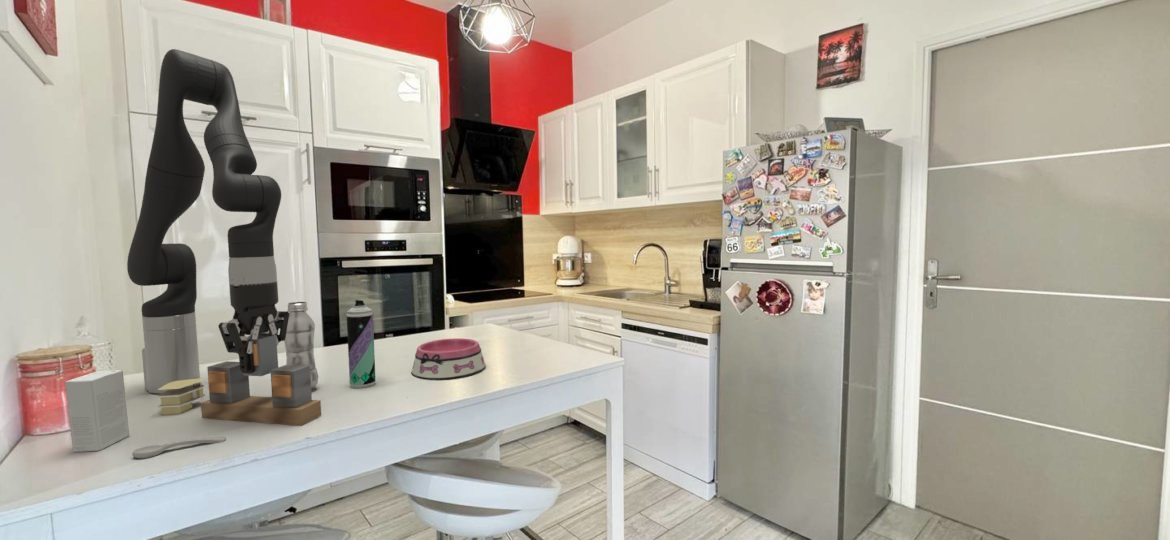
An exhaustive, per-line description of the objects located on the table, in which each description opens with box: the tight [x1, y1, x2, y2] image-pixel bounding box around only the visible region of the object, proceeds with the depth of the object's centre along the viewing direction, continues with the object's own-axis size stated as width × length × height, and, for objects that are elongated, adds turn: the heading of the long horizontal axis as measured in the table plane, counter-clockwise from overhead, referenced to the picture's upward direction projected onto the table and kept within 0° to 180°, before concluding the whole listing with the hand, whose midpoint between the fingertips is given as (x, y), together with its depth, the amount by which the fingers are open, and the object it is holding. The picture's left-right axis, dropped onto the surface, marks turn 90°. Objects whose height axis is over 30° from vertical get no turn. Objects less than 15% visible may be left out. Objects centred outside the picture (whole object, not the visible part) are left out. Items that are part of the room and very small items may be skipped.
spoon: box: [131, 435, 227, 459], centre depth 80 cm, size 3×12×2 cm, turn 125°
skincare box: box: [64, 369, 130, 453], centre depth 81 cm, size 6×4×12 cm
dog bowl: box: [410, 337, 487, 381], centre depth 125 cm, size 18×19×7 cm
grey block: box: [243, 335, 279, 377], centre depth 92 cm, size 4×4×7 cm
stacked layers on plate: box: [157, 377, 207, 416], centre depth 98 cm, size 10×9×6 cm
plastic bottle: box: [283, 301, 319, 390], centre depth 108 cm, size 6×7×20 cm
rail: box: [200, 360, 322, 427], centre depth 93 cm, size 22×5×10 cm, turn 80°
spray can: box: [346, 299, 376, 389], centre depth 112 cm, size 6×6×20 cm
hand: (259, 368), depth 93 cm, fingers closed on grey block, 4 cm apart
